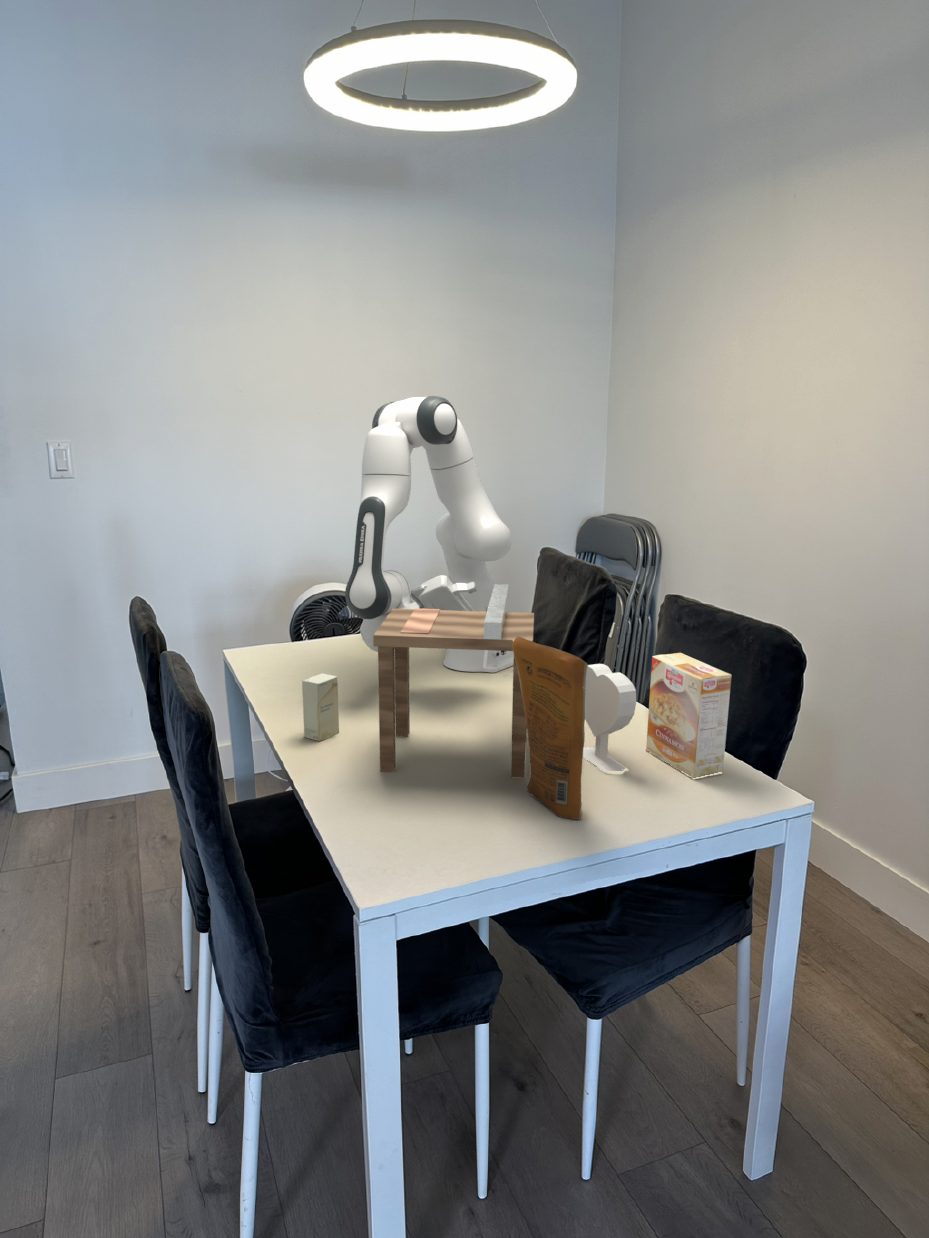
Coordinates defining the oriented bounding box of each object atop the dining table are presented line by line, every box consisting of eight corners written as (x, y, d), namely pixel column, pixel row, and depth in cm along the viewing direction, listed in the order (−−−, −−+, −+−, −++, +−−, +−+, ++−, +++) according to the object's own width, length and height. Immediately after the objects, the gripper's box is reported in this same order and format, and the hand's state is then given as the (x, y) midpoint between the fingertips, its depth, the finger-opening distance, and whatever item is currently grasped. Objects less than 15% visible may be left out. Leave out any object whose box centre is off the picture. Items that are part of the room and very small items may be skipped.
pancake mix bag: (562, 829, 136) (569, 662, 129) (505, 782, 153) (508, 631, 146) (597, 821, 139) (606, 656, 132) (537, 776, 156) (542, 627, 149)
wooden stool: (394, 731, 176) (392, 607, 169) (530, 737, 174) (534, 612, 167) (375, 771, 157) (373, 634, 150) (528, 779, 154) (532, 639, 148)
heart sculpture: (635, 774, 157) (641, 681, 152) (612, 778, 155) (617, 684, 150) (590, 743, 171) (594, 657, 166) (568, 747, 169) (572, 660, 164)
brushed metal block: (494, 598, 179) (494, 584, 179) (508, 598, 179) (508, 584, 178) (483, 639, 149) (484, 622, 148) (501, 639, 148) (501, 622, 148)
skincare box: (319, 742, 170) (317, 684, 167) (302, 737, 172) (300, 680, 169) (340, 732, 175) (338, 675, 172) (323, 727, 177) (321, 672, 174)
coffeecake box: (644, 750, 168) (650, 655, 163) (674, 745, 170) (681, 651, 165) (692, 781, 154) (701, 678, 149) (724, 774, 157) (733, 673, 152)
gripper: (406, 580, 185) (463, 559, 181) (449, 630, 200) (502, 612, 196) (406, 602, 182) (464, 582, 177) (450, 652, 196) (504, 634, 192)
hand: (485, 598), depth 186 cm, fingers open, 8 cm apart
